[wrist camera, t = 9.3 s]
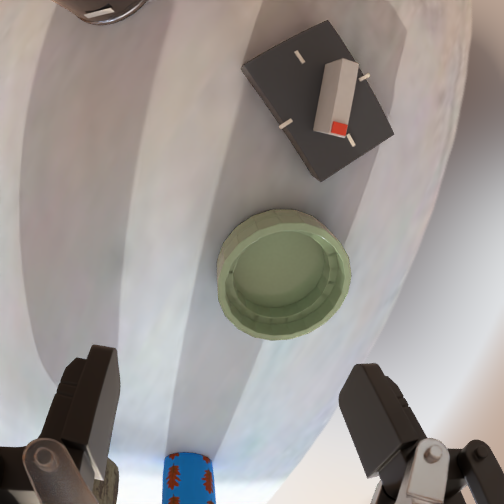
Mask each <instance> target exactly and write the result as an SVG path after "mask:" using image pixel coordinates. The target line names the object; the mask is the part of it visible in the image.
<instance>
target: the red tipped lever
mask: <svg viewBox="0 0 504 504" xmlns="http://www.w3.org/2000/svg"><path fill="white" fill-rule="evenodd" d="M358 67H359V63H356V62H353V61H350V60H347V59H344V58H342V59H339V60H336V61H333V62H331V63H328V64H325V69H324V74H323V80H322V85H321V91H320V96H319V101H318V107H317V112H316V117H315V122H314V128H313V131H317V132H321V133H325V134H330V135H334V136H338V137H342V138H345V137H346V132H347V127H348V122H349V117H350V112H351V106H352V101H353V96H354V90H355V85H356V79H357V73H358Z"/></svg>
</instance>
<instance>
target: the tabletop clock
mask: <svg viewBox="0 0 504 504" xmlns="http://www.w3.org/2000/svg"><path fill="white" fill-rule="evenodd" d="M118 483H119V471H118V467H117V466H116V464H115V463H114V462H113V461H112V460H110V459H109V458H107V464H106V470H105V477H104V481H103V480H98V479H94V483H93V490H92V492H93V494H94V496H95V497H96V499H97V500H98V502H99V503H100V504H116V501H117V494H118Z"/></svg>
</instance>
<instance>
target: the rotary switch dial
mask: <svg viewBox="0 0 504 504" xmlns="http://www.w3.org/2000/svg"><path fill="white" fill-rule="evenodd" d="M342 58H344V59H347V60H350V61H353V62H355V60H354V59H353V57H352V55H351V54H350V52H349V51H348V49H347V47H346V46H345V44H344V43H343V41H342V40H341V38H340V37H339V35H338V34H337V32H336V31H335V29H334V28H333V26H332V25H331V24H330V22H329V21H328V20H327V21H324V22H322V23H320V24H318V25H316V26H314V27H312V28H310V29H308V30H306V31H304V32H302V33H300V34H298V35H296V36H294V37H292V38H290V39H288V40H286V41H284V42H282V43H281V44H279V45H277V46H275V47H273V48H271V49H270V50H268V51H266V52H264V53H263V54H261V55H259V56H257V57H256V58H254V59H252V60H251V61H249V62H247V63H246V64H244V65H243V66H242V68H241V70H242V72H243V73H244V75H245V76H246V77H247V79H248V80H249V81H250V83H251V84H252V86H253V87H254V88H255V90H256V91H257V93H258V94H259V95H260V97H261V98H262V100H263V101H264V103H265V104H266V105H267V107H268V108H269V110H270V111H271V113H272V114H273V116H274V117H275V119H276V120H277V122H278V123H279V128H280V129H283V131H284V132H285V134H286V135H287V137H288V138H289V140H290V141H291V143H292V144H293V146H294V147H295V149H296V151H297V152H298V154H299V155H300V157H301V158H302V160H303V162H304V163H305V165H306V166H307V168H308V170H309V171H310V173H311V175H312V176H313V177H315V178H316V179H318V180H319V181H320V182H322V181H324V180H325V179H327V178H328V177H330V176H331V175H333V174H334V173H336V172H337V171H339V170H340V169H342V168H343V167H345V166H346V165H348V164H350V163H351V162H353V161H354V160H356V159H357V158H359V157H360V156H362V155H363V154H365V153H366V152H368V151H369V150H371V149H373V148H374V147H376V146H377V145H379V144H380V143H382V142H383V141H385V140H386V139H388V138H390V137H391V136H393V135H394V132H393V130H392V128H391V126H390V124H389V122H388V120H387V118H386V116H385V114H384V112H383V110H382V108H381V106H380V104H379V102H378V101H377V99H376V97H375V95H374V93H373V91H372V89H371V88H370V86H369V84H368V82H367V81H366V78H368V77H370V74H369V73H368V74H366V75H363V74H362V72H361V70H360V69H359V67H358V73H357V79H356V85H355V90H354V96H353V101H352V106H351V112H350V117H349V122H348V127H347V132H346V137H345V138H342V137H338V136H334V135H330V134H325V133H321V132H317V131H313V128H314V122H315V117H316V112H317V107H318V101H319V96H320V91H321V85H322V80H323V74H324V69H325V64H328V63H331V62H333V61H336V60H339V59H342Z"/></svg>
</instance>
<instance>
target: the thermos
mask: <svg viewBox="0 0 504 504" xmlns="http://www.w3.org/2000/svg"><path fill="white" fill-rule="evenodd" d="M162 504H216V499H215V486H214V475H213V468H212V462H211V460H210V459H209V458H208V457H205V456H203V455H200V454H196V453H186V452H183V453H175V454H171V455H169V456H167V457H166V458H165V461H164V470H163V491H162Z"/></svg>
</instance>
